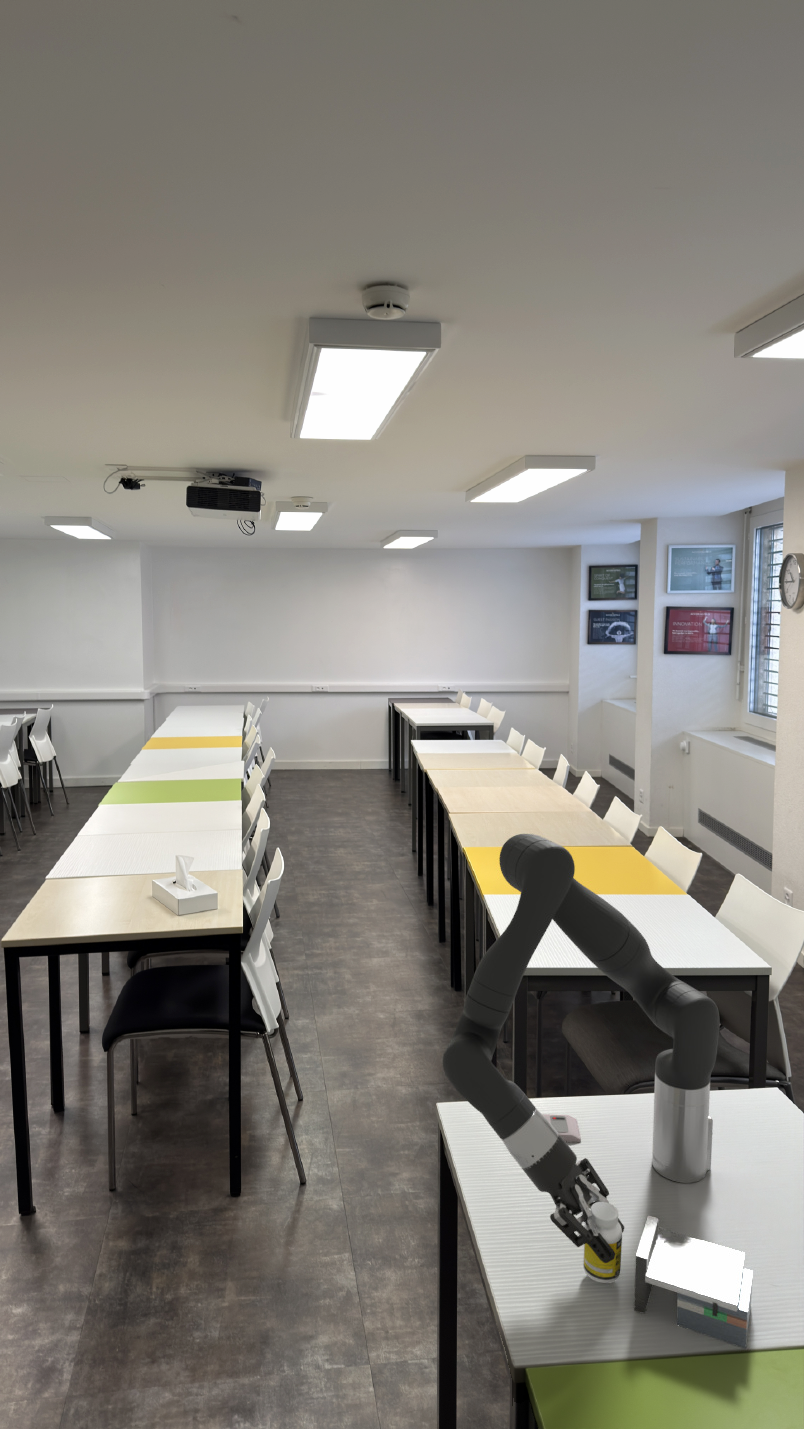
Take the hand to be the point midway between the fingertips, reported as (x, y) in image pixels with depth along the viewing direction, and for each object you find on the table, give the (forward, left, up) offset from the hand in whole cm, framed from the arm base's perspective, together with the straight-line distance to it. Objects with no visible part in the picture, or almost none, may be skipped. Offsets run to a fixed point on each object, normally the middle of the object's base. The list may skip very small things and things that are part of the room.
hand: (615, 1245), depth 131 cm
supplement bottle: (+1, -1, -5) cm, 5 cm away
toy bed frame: (-7, +8, -5) cm, 12 cm away
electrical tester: (-12, -36, -7) cm, 38 cm away
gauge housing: (-9, +11, -6) cm, 15 cm away
